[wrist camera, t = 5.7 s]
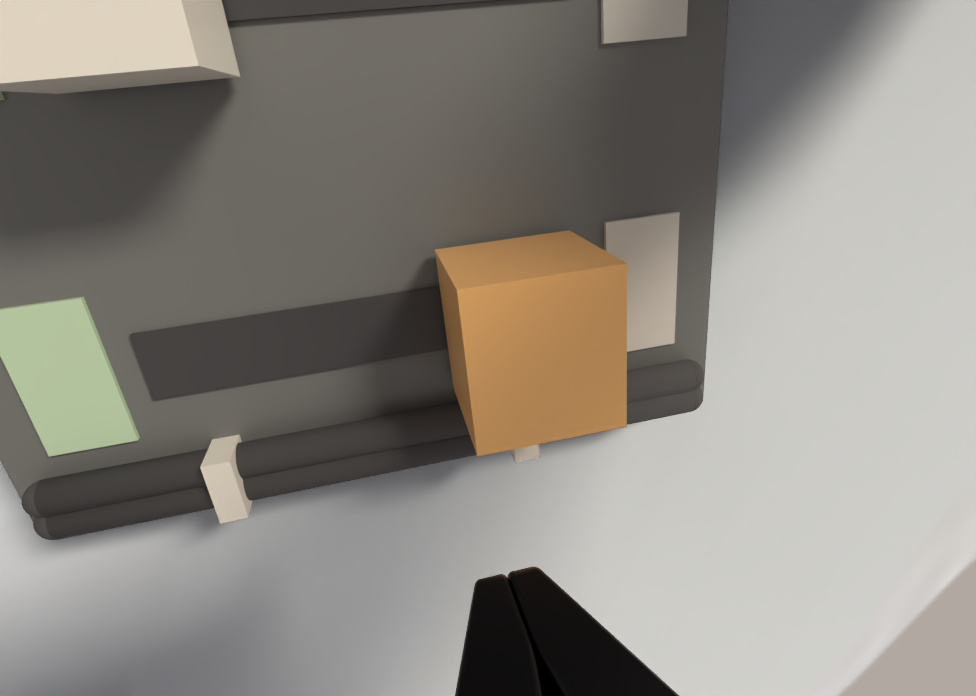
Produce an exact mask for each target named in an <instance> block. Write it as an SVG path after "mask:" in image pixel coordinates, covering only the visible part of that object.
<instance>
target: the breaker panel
mask: <svg viewBox="0 0 976 696" xmlns="http://www.w3.org/2000/svg"><path fill="white" fill-rule="evenodd" d="M222 4H223V8H224V12H225V16H226V20H227V24H228V28H229V32H230V37H231V41H232V45H233V49H234V53H235V57H236V61H237V65H238V69H239V73H240V77H234V78H223V79H213V80H202V81H191V82H181V83H170V84H159V85H148V86H138V87H127V88H116V89H105V90H95V91H84V92H73V93H63V94H50V93H29V92H8V91H0V460H1V462H2V464H3V466H4V468H5V469H6V471H7V473H8V475H9V477H10V479H11V481H12V483H13V485H14V487H15V488H16V490H17V492H18V494H19V496H20V498H21V500H22V496H23V494H24V492H25V490H26V489H27V488H28V487H29V486H30V485H31V484H33V483H35V482H37V481H39V480H42V479H47V478H52V477H57V476H63V475H68V474H74V473H79V472H84V471H90V470H95V469H100V468H106V467H111V466H116V465H122V464H127V463H133V462H138V461H143V460H149V459H154V458H159V457H165V456H170V455H175V454H181V453H186V452H191V451H197V450H202V449H208V448H209V446H210V443H211V441H212V439H218V438H223V437H229V436H234V435H240V437H241V441H242V442H245V441H250V440H256V439H261V438H267V437H272V436H277V435H283V434H288V433H293V432H299V431H304V430H309V429H315V428H320V427H326V426H331V425H336V424H342V423H347V422H352V421H358V420H363V419H368V418H374V417H379V416H384V415H390V414H395V413H401V412H406V411H411V410H417V409H422V408H427V407H433V406H438V405H443V404H449V403H454V402H458V399H457V396H456V394H455V391H454V388H453V382H452V374H451V367H450V360H449V352H448V345H447V337H446V330H445V323H444V315H443V308H442V300H441V293H440V286H439V278H438V271H437V263H436V256H435V249H442V248H449V247H456V246H463V245H470V244H477V243H484V242H491V241H498V240H505V239H512V238H519V237H525V236H532V235H539V234H546V233H553V232H560V231H567V230H570V231H571V232H573V233H575V234H577V235H578V236H580V237H582V238H584V239H585V240H587V241H589V242H591V243H592V244H594V245H596V246H598V247H599V248H601V249H603V250H605V251H606V252H608V253H610V254H612V255H613V256H615V257H617V258H618V259H620V260H622V261H624V262H625V263H627V370H631V369H636V368H642V367H647V366H653V365H658V364H663V363H669V362H674V361H679V360H686V359H689V360H693V361H695V362H697V363H699V364H700V366H701V367H702V368H703V371H704V376H705V360H706V344H707V329H708V313H709V297H710V281H711V266H712V250H713V234H714V219H715V203H716V187H717V172H718V156H719V140H720V124H721V109H722V93H723V77H724V62H725V46H726V30H727V15H728V0H222ZM700 388H701V390H702V393H703V391H704V381H703V383H702V385H701V386H700ZM30 517H31V519H32V521H33V522H34V518H35V517H33V516H31V515H30Z"/></svg>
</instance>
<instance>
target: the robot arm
mask: <svg viewBox="0 0 976 696" xmlns="http://www.w3.org/2000/svg"><path fill="white" fill-rule="evenodd" d="M455 696H679V695H678V694H677V693H676V692H674V691H673V690H672V689H671V688H670V687H669V686H668V685H667V684H666V683H665V682H663V681H662V680H661V679H660V678H659V677H658V676H657V675H656V674H655V673H654V672H653V671H651V670H650V669H649V668H648V667H647V666H646V665H645V664H644V663H643V662H642V661H640V660H639V659H638V658H637V657H636V656H635V655H634V654H633V653H632V652H631V651H629V650H628V649H627V648H626V647H625V646H624V645H623V644H622V643H621V642H620V641H619V640H617V639H616V638H615V637H614V636H613V635H612V634H611V633H610V632H609V631H608V630H606V629H605V628H604V627H603V626H602V625H601V624H600V623H599V622H598V621H597V620H595V619H594V618H593V617H592V616H591V615H590V614H589V613H588V612H587V611H586V610H585V609H583V608H582V607H581V606H580V605H579V604H578V603H577V602H576V601H575V600H574V599H572V598H571V597H570V596H569V595H568V594H567V593H566V592H565V591H564V590H563V589H561V588H560V587H559V586H558V585H557V584H556V583H555V582H554V581H553V580H552V579H551V578H549V577H548V576H547V575H546V574H545V573H544V572H543V571H542V570H541V569H539V568H537V567H529V568H525V569H521V570H517V571H512V572H510V573H509V574H508V577H506V576H505V575H503V574H500V575H496V576H492V577H487V578H483V579H479V580H478V581H477V582H476V583H475V586H474V592H473V597H472V603H471V608H470V614H469V620H468V625H467V631H466V637H465V642H464V648H463V654H462V659H461V665H460V671H459V676H458V682H457V688H456V693H455Z"/></svg>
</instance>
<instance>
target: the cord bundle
mask: <svg viewBox="0 0 976 696" xmlns="http://www.w3.org/2000/svg"><path fill="white" fill-rule="evenodd" d="M703 381H704V371H703V368H702V367H701V366H700V364H699V363H697V362H695V361H693V360H689V359H686V360H679V361H674V362H669V363H663V364H658V365H653V366H647V367H642V368H636V369H631V370H627V424H632V423H637V422H642V421H647V420H652V419H657V418H662V417H667V416H672V415H677V414H682V413H687V412H691V411H694V410H696V409H697V408H698V407H699V406H700V405H701V403H702V401H703V393H702V390H701V388H700V386H701V385H702V383H703ZM510 451H511V454H512V456H513V458H514V460H515V462H516V463H517V462H521V461H526V460H531V459H536V458H540V454H539V444H538V445H533V446H528V447H523V448H518V449H513V450H510ZM474 455H477V454H476V451H475V448H474V446H473V443H472V440H471V437H470V434H469V431H468V428H467V425H466V422H465V420H464V417H463V414H462V411H461V408H460V405H459V402H454V403H449V404H443V405H438V406H433V407H427V408H422V409H417V410H411V411H406V412H401V413H395V414H390V415H384V416H379V417H374V418H368V419H363V420H358V421H352V422H347V423H342V424H336V425H331V426H326V427H320V428H315V429H309V430H304V431H299V432H293V433H288V434H283V435H277V436H272V437H267V438H261V439H256V440H250V441H245V442H242V441H241V437H240V435H234V436H229V437H223V438H218V439H212V441H211V443H210V446H209V448H208V449H202V450H197V451H191V452H186V453H181V454H175V455H170V456H165V457H159V458H154V459H149V460H143V461H138V462H133V463H127V464H122V465H116V466H111V467H106V468H100V469H95V470H90V471H84V472H79V473H74V474H68V475H63V476H57V477H52V478H47V479H42V480H39V481H37V482H35V483H33V484H31V485H30V486H29V487H28V488H27V489H26V490H25V492H24V494H23V496H22V506H23V509H24V510H25V511H26V512H27V513H28V514H29V515H31V516H33V517H35V518H34V522H33V525H34V529H35V531H36V533H37V534H38V535H39V536H41V537H42V538H45V539H48V540H57V539H62V538H67V537H72V536H77V535H82V534H87V533H92V532H97V531H102V530H107V529H112V528H117V527H122V526H127V525H132V524H137V523H142V522H147V521H152V520H157V519H161V518H166V517H171V516H176V515H181V514H186V513H191V512H196V511H201V510H206V509H211V508H215V511H216V513H217V516H218V519H219V522H220V524H221V523H226V522H230V521H235V520H240V519H245V518H248V517H249V514H250V510H251V506H252V502H253V500H256V499H261V498H266V497H270V496H275V495H280V494H285V493H290V492H295V491H300V490H305V489H310V488H315V487H320V486H325V485H330V484H335V483H340V482H345V481H350V480H355V479H360V478H365V477H370V476H374V475H379V474H384V473H389V472H394V471H399V470H404V469H409V468H414V467H419V466H424V465H429V464H434V463H439V462H444V461H449V460H454V459H459V458H464V457H469V456H474Z"/></svg>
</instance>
